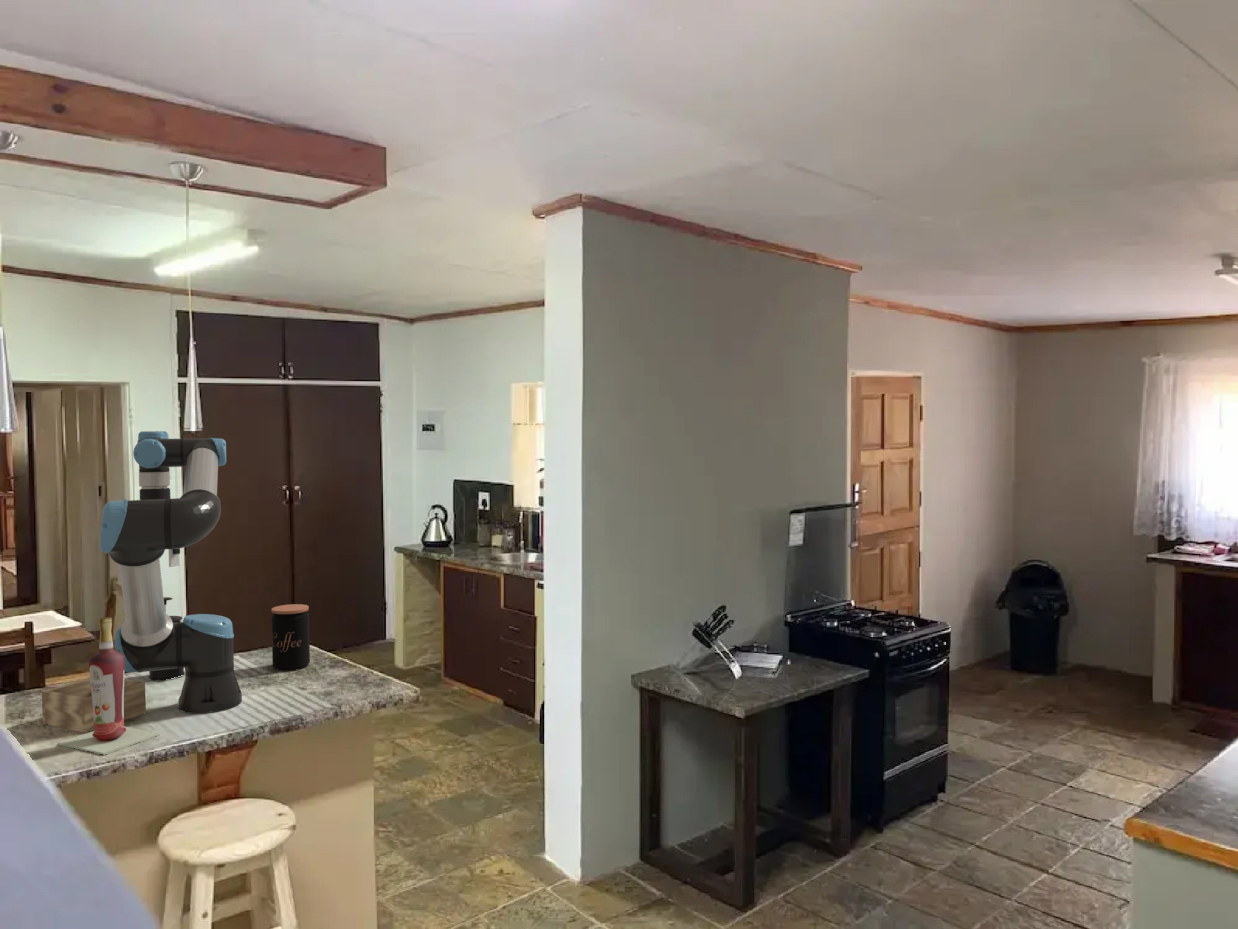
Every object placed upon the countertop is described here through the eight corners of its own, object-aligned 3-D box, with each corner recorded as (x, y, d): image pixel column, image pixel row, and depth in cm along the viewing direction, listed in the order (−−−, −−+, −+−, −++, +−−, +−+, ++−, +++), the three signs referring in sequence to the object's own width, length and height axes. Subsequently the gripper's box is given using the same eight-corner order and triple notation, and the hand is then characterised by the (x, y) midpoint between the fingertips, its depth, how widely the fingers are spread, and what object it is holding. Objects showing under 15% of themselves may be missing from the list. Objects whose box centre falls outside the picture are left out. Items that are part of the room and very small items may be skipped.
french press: (142, 676, 265) (139, 598, 264) (175, 669, 272) (173, 593, 271) (159, 683, 258) (157, 603, 256) (192, 676, 265) (190, 598, 264)
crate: (145, 713, 231) (145, 682, 230) (85, 732, 216) (84, 699, 216) (104, 705, 238) (103, 675, 237) (42, 723, 223) (41, 691, 223)
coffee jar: (265, 670, 271) (264, 610, 270) (284, 661, 281) (283, 603, 280) (298, 672, 269) (297, 611, 268) (316, 662, 279) (315, 604, 279)
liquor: (134, 734, 214) (130, 615, 212) (108, 744, 207) (104, 622, 205) (110, 731, 216) (105, 614, 214) (83, 741, 209) (79, 620, 207)
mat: (159, 735, 214) (159, 733, 214) (104, 755, 201) (103, 753, 201) (114, 726, 221) (114, 724, 221) (57, 744, 208) (57, 742, 208)
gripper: (198, 487, 247) (200, 565, 248) (136, 485, 258) (138, 560, 259) (174, 489, 240) (177, 569, 241) (111, 487, 251) (113, 563, 252)
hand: (157, 564), depth 250 cm, fingers open, 13 cm apart
